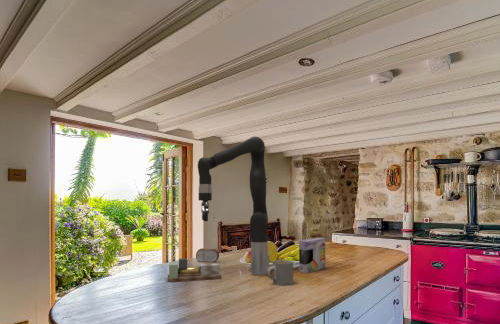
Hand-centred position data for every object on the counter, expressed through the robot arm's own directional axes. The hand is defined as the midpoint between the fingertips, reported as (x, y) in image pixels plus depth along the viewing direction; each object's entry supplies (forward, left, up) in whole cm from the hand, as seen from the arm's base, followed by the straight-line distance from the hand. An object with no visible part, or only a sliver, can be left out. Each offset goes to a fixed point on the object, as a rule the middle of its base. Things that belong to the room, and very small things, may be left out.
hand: (204, 220), depth 195 cm
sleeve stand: (-6, +16, -28) cm, 33 cm away
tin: (+15, -22, -28) cm, 39 cm away
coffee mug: (-48, +2, -28) cm, 56 cm away
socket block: (+1, +23, -27) cm, 36 cm away
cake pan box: (-52, -32, -28) cm, 67 cm away
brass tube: (-5, +17, -26) cm, 31 cm away
